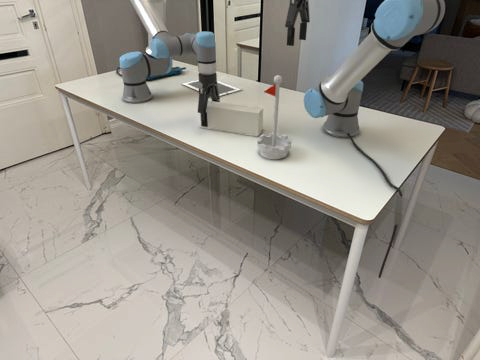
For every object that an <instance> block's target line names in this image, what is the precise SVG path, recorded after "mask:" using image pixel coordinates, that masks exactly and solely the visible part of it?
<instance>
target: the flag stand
mask: <svg viewBox="0 0 480 360" xmlns="http://www.w3.org/2000/svg"><path fill="white" fill-rule="evenodd" d="M273 82H274V84H273V85H272V86H269V88H267V89H265V90H263V93H264V94H265V93H266V94H268V95H270V96H273V97H274V104H273V105H274V106H273V121H272V122H273V123H272V132H270V133H269V135H267V134H265V133H263V134H259V138H257V140H256V147H257V148H258V149H259V155H261V156H262V157H263V158H265V159H268V160H280V159H283V158H286V157H287V156H288V153H289V151H290V150H291V148H292V139H291V138H289V137H288V135H287V134H284V133H282V134H281V135H278V118H279V104H280V91H281V89H280V87H281V83H283V77H282V76H281V75H279V74H278V75H275V76H274V77H273Z"/></svg>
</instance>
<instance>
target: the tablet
mask: <svg viewBox="0 0 480 360" xmlns="http://www.w3.org/2000/svg"><path fill="white" fill-rule="evenodd" d="M181 85H182V86H185V87H187V88H189V89H192V90H194V91H195V92H198V93H199V89H202V83H200V82H199V79H197V80H192V81H188V82H184V83H181ZM217 87H218V92H219V97H222V96H226V95H230V94H234V93H236V92H237V93H238V92H240V91H242V89H241V88H239V87H235V86H233V85H231V84H228V83H225V82H222V81H219V80H217Z"/></svg>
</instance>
